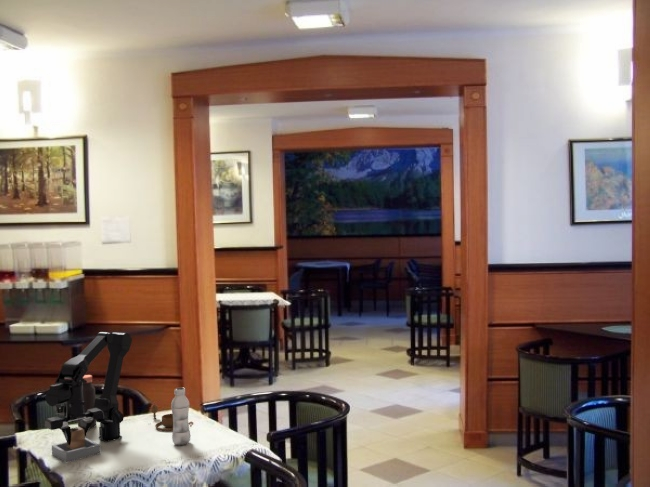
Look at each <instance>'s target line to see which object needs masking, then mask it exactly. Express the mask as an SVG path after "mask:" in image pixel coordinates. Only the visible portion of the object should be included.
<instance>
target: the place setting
mask: <svg viewBox="0 0 650 487" xmlns="http://www.w3.org/2000/svg"><path fill="white" fill-rule="evenodd" d="M150 409H151V412H152V413H153V415H152V417H153V420H156V419H157V415H156V413H157V412H158V405H157V404H152V405H151V407H150ZM188 424H189V428H192V426H193V425H194V422H193V421H190V422H189V421H188ZM148 425H150V423H148ZM154 426H155V430H157V431H159V432H173V414H172V413H167V414H163V415H162V416H161V421H159V422H157V423H155V425H154ZM160 426H164V427H165V428H161V427H160Z"/></svg>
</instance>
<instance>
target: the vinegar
mask: <svg viewBox="0 0 650 487" xmlns="http://www.w3.org/2000/svg"><path fill="white" fill-rule="evenodd" d="M83 379H85V380H86V381H87V383H84V384H82V385H83V401H84V402H85V404H84V405H83V412H84V413H86V411H87V410H89V409H93V407H94V403H95V399H96V387H95V386H93V384H92V383H93V375H92V374H85V375H84V377H83ZM79 418H80V417H79ZM92 420H93V421H94V423H92V424H91V426H90V428H89V430H90V429H93V428H95V427H96V426H97V421H96V420H95V419H94V418H92ZM77 427H81V423H80V420H78V421H77Z"/></svg>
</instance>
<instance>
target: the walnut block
mask: <svg viewBox="0 0 650 487" xmlns="http://www.w3.org/2000/svg"><path fill="white" fill-rule="evenodd" d="M70 431H71V442H70V445H68V443H67V447H69V448H70V449H72V450H73V449H77V448H81V447H85V432H84V429H83V428H81V427H78V426H75V427H72V428H71V427H70Z"/></svg>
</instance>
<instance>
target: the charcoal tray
mask: <svg viewBox="0 0 650 487" xmlns="http://www.w3.org/2000/svg"><path fill="white" fill-rule="evenodd" d="M51 454H52V455H53V456H55V457H56V458H58V459H60V460H62V462H65V463H66V464H67V463H70V462H74V461H77V460H81V459H86V458H89V457H92V456H96V455H100V454H101V445H100V444H99V443H97V442H95V441H94V440H91V439H90V438H87V436H86V437H85V447H81V448H77V449H73V450H72V449H70V448H69V447H67V441H64V442H60V443H56V444H52V445H51Z"/></svg>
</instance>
